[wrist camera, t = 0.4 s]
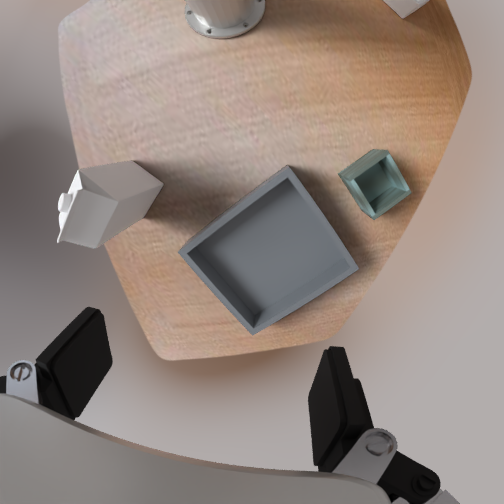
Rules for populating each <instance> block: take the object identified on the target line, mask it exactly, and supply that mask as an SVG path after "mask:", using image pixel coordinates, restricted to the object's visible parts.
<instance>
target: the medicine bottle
mask: <svg viewBox="0 0 504 504" xmlns="http://www.w3.org/2000/svg"><path fill="white" fill-rule="evenodd" d="M383 1H384V2H385V3H386V4H387V5H388V6H389V7H391V8H392V9H393V10H394V11H395V12H396V13H397V14H398V15H399V16H400V17H401V18H402V19H403V18H405V17H407V16H408V15H410V14H411V13H413V12H414V11H416V10H417V9H419V8H420V7H422V6H423V5H424V4H426V3H427V2H428V1H429V0H383Z"/></svg>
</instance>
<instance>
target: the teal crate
mask: <svg viewBox="0 0 504 504" xmlns="http://www.w3.org/2000/svg"><path fill="white" fill-rule="evenodd" d="M338 175H339V176H340V178H341V179H342V181H343V182H344V184H345V185H346V187H347V188H348V190H349V191H350V193H351V194H352V196H353V198H354V199H355V201H356V202H357V204H358V205H359V207H360V209H361V210H362V211H363V212H364V213H365V214H367V215H368V216H369V217H371V218H372V219H373V220H375V219H376V218H378V217H379V216H381V215H382V214H383V213H385V212H386V211H388V210H389V209H390V208H392V207H393V206H394V205H396V204H397V203H399V202H400V201H401V200H403V199H404V198H405V197H407V196H408V195H409V194H411V191H410V189H409V187H408V185H407V183H406V181H405V180H404V178H403V176H402V174H401V172H400V171H399V169H398V167H397V165H396V164H395V162H394V160H393V158H392V157H391V155H390V153H389V152H388V150H377V149H373V150H371V151H370V152H368V153H367V154H365V155H364V156H363V157H361V158H360V159H358V160H357V161H355V162H354V163H353V164H351V165H350V166H348V167H347V168H345V169H344V170H343V171H341V172H340V173H338Z"/></svg>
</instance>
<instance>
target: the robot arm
mask: <svg viewBox="0 0 504 504" xmlns="http://www.w3.org/2000/svg"><path fill="white" fill-rule="evenodd" d="M259 1H260V2H259ZM185 2H186V6H185V18H186V20H187V22H188V24H189V25H190V27H191V28H192V29H193V30H194V31H195V32H197V33H199V34H200V35H203V36H206V37H210V38H217V39H223V38H231V37H235V36H238V35H241V34H244V33H246V32H247V31H249V30H251V29H252V28H253V27H254V26H256V25H257V24H258V22H259V21H260V20H261V18H262V17H263V15H264V11H265V0H185ZM245 26H248V27H245ZM210 32H212V33H210ZM209 33H210V34H209ZM36 362H37V363H36V364H35V365H34V364H33V363H31V362H30V361H27V360H20V361H17V362H14V363H13V364H12V365H11V366H10V367H9V369H8V370H7V376H2V377H0V504H460V503H459V502H458V501H457V500H456V499H455V498H454V497H453V496H451V495H450V493H448V492H447V491H446V490H445V491H442V490H441V489H440V479H439V477H438V475H437V474H436V473H435V472H433V471H432V470H430V469H428V468H426V467H425V466H423V465H421V464H419V463H417V462H415V461H413V460H412V459H410V458H408V457H407V456H405V455H403V454H401V453H400V452H398V451H396V450H397V441H396V438H395V437H394V436H393V435H392V434H391V433H390V432H388V431H387V430H384V429H380V428H374V426H373V423H372V419H371V416H370V412H369V409H368V405H367V402H366V398H365V395H364V392H363V388H362V385H361V382H360V380H359V379H354V378H353V375H352V372H351V368H350V365H349V362H348V359H347V355H346V352H345V349H344V347H334V346H330V347H329V349H328V350H324V352H323V355H322V358H321V361H320V364H319V367H318V370H317V373H316V376H315V379H314V381H313V384H312V387H311V390H310V392H309V396H308V405H309V414H310V425H311V437H312V449H313V462H314V465H315V466H318V469H319V470H318V471H319V472H314V471H294V470H293V471H292V470H275V469H264V468H254V467H244V466H236V465H229V464H222V463H216V462H210V461H204V460H199V459H194V458H189V457H184V456H180V455H176V454H172V453H167V452H163V451H160V450H156V449H152V448H149V447H145V446H142V445H139V444H135V443H132V442H129V441H126V440H123V439H120V438H117V437H115V436H112V435H109V434H106V433H104V432H101V431H98V430H96V429H93V428H91V427H88V426H86V425H84V424H81V423H79V422H77V421H74V420H75V418H76V417H79V416H80V415H81V413H82V412H83V410H84V408H85V407H86V405H87V404H88V402H89V400H90V399H91V397H92V396H93V394H94V392H95V391H96V389H97V388H98V386H99V385H100V383H101V382H102V380H103V379H104V377H105V375H106V374H107V372H108V371H109V369H110V368H111V366H112V355H111V351H110V346H109V341H108V336H107V331H106V326H105V321H104V315H103V314H102V313H101V311H100V310H99V309H95V308H91V307H87V308H85V310H83V311H82V312H81V313H80V314H79V315H78V316H77V317H76V318H75V319H74V320H73V321H72V322H71V323H70V324H69V325H68V326H67V327H66V328H65V329H64V330H63V331H62V332H61V333H60V334H59V335H58V336H57V337H56V338H55V340H54V341H53V342H52V343H51V344H50V345H49V346H48V347H47V348H46V349H45V350H44V351H43V352H42V353H41V354H40V355H39V356H38V358H37V359H36Z"/></svg>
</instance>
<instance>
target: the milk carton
mask: <svg viewBox="0 0 504 504" xmlns="http://www.w3.org/2000/svg"><path fill="white" fill-rule="evenodd" d="M163 185H164V184H163V183H162V182H161V181H159V180H158V179H157V178H155V177H154V176H152V175H151V174H150V173H148V172H147V171H146V170H144V169H143V168H142V167H140V166H139V165H138V164H136V163H135V162H133V161H132V160H130V161H124V162H117V163H111V164H105V165H99V166H94V167H88V168H83V169H78V171H77V173H76V175H75V178H74V180H73V182H72V185H71V187H70V189H69V192H68V194H66V193H62V195H61V196H60V199H59V202H58V210H59V211H60V215H59V223H60V230H61V231H60V234H59V237H58V239H57V243H59V242H61V241H63V240H64V241H68V242H71V243H75V244H79V245H82V246H86V247H90V248H94V249H96V248H97V247H99V246H100V245H102V244H103V243H105V242H106V241H108V240H109V239H111V238H113V237H114V236H116V235H117V234H119V233H120V232H122V231H124V230H125V229H127V228H128V227H130V226H131V225H133V224H135V223H136V222H138V221H140V220H141V219H143V218H144V216H145V215H146V213H147V211H148V210H149V208H150V206H151V205H152V203H153V201H154V200H155V198H156V196H157V195H158V193H159V192H160V190H161V188H162V187H163Z"/></svg>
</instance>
